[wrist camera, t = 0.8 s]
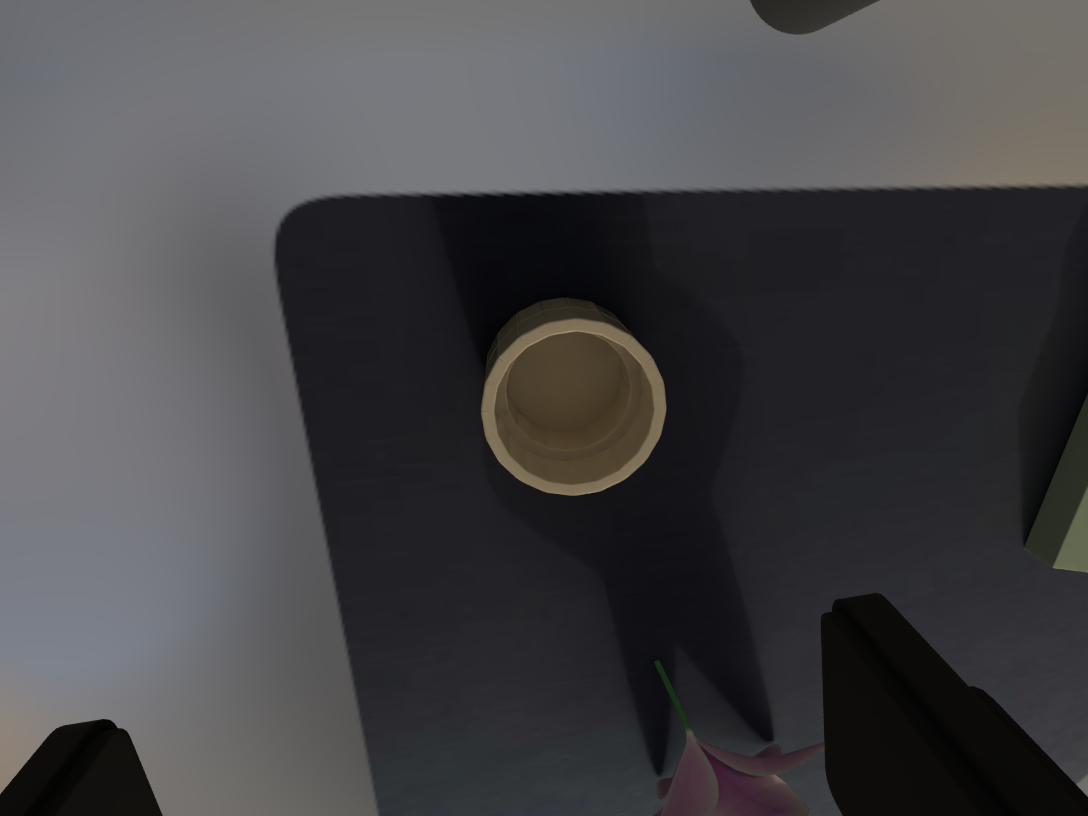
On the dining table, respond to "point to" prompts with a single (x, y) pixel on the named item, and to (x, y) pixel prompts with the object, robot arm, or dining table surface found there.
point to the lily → (729, 778)
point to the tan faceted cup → (570, 398)
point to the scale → (1066, 506)
